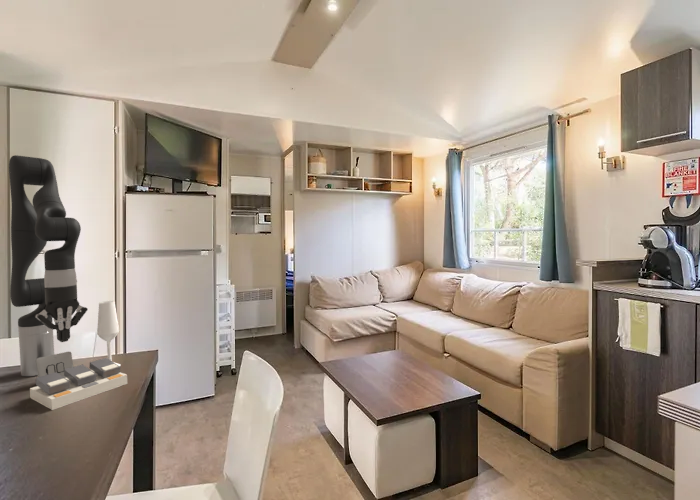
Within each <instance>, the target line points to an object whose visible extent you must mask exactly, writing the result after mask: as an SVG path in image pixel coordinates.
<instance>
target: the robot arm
mask: <svg viewBox="0 0 700 500" xmlns="http://www.w3.org/2000/svg"><path fill="white" fill-rule="evenodd" d="M8 175H9V176H8V177H9V187H10V200H11V201H10V202H11V211H10V212H11V214H10V215H11V218H10V243H11V244H10V245H11V273H10V275H11V276H10V289H9V293H10V302H11V305H13V306H14V307H17V308H21V307H22V308H23V307H30V306H37V308H36V309H34V310H32V311H31V312H28V313H26V314H24V315H22V316H20V317H19V318H18V319H17V328H18V343H19V344H18V345H19V361H20V376H22V377H34V376H38V372H37V365H36V359H37V358H41V357H45V356H50V355H55V343H54V342H55V341H54V331H55V330H56V340H57V341H59V342H60V343H65V342H68V341H69V339H70V338H71V328H72V327H73V326H74V327H75V326H77V325H78V323H80V321H81V320H82V318H83V317H84V315H85V314H86V313H87V311H88V308H87V307H85V306H82V305H81V304H80V302H79V300H78V285H77V284H78V279H77V273H76V259H75V254H76V248H77V244H78V241H79V238H80V235H81V229H82V228H81V224H80V222H79V221H78V220H77V219H76V218H74V217H66V216H67V211H66V209H65V206H64V205H63V202H62V200H61V197H60V194H59V188H58V186H59V185H58V181H57V176H56V170H55V168H54V165H53V163H52V162H51V161H50V160H48V159H46V158H42V157H41V158H40V157H35V156H34V157H33V156H26V155H18V154H17V155H11V157H10V159H9V162H8ZM25 185H27V186H28V185H29V186H38V187H40V188H39V189H38V190H37V191H36V192H35V193H34V195H33V197H32V202H31V201H30V199H29V198H28V196H27V194H26V190H25ZM48 242H64V243H63V245H62V246H60V247H58V248H53V249H49V250H46V251H45V252H44V253H43V258H44V276H43V277H41V278H29V279H28V278H27V279H26V276H27V272H28V271H29V268H30V266H31V265H32V263H33V262H34V261H35V259H36V258H37V257H38V256H39V255H40V254H41V252H43V250H44V249H45V247H46V246H47V243H48ZM75 312H76V313H75ZM72 316H73V317H72ZM53 322H54V323H53Z"/></svg>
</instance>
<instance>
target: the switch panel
mask: <svg viewBox="0 0 700 500" xmlns="http://www.w3.org/2000/svg"><path fill="white" fill-rule="evenodd" d="M90 370H91V369H90ZM91 371H93V370H91ZM93 372H94V371H93ZM94 373H96V372H94ZM96 374H97V373H96ZM65 379H67V380H68V381H70V380H69V379H68V378H67V377H66V378H65ZM127 384H129V383H128V375H127V374H126V373H124V372H121V371H120V373H117V374H114V375H111V376H108V377H105V378H103V377H101V376H100V375H98V374H97V375H96V380H95V381H92V382H89V383H86V384H83V385H80V386H77V385H75V384H74V383H73V382H72V381H70V388H68V389H65V390H62V391H59V392H56V393H53V394H50V395H49V394H47V393H46V392H45V391H44V390H42V389H41V388H40V387H38V386H37V385H36V386H33V387H30V388H29V394H30V395H29V396H30V397H29V398H30V399H31V400H33V401H35V402H37V403H38V404H41V405H42V406H44V407H46V408H48V409H49V410H51V411H54V410H57V409H60V408H63V407H65V406H68V405H71V404H74V403H76V402H79V401H82V400H86V399H88V398H91V397H94V396H96V395H99V394H102V393H104V392H105V393H106V392H108V391H111V390H114V389H117V388H119V387H122V386H125V385H127Z"/></svg>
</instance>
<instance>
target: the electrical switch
mask: <svg viewBox="0 0 700 500" xmlns="http://www.w3.org/2000/svg"><path fill="white" fill-rule="evenodd" d="M36 365H37V372H38V375H37V378H38V377H41V376H45V375H48V374H52V373H55V372H57V373H58V374H60V375H61V376H62V377H64V378H66V377H65V376H64V369H68V368H71V367H74V363H73V354H72V352H71V351H64V352H60V353H54V355H50V356H45V357H41V358H37V359H36Z"/></svg>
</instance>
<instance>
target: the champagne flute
mask: <svg viewBox="0 0 700 500" xmlns="http://www.w3.org/2000/svg"><path fill="white" fill-rule="evenodd" d="M97 314H98V315H97V317H98V318H97V328H96V330H97V332H96V335H97V336H98V337H99V338H100V339H101V340H103V341H104V342H106V352H107V358H108V359H109V360H111V361H112V362H114V363H115V364H117V365H118V366H120V367H121V363H117V362H115V361H113V360H112V342H111V341H113V340H114V339H115V338H116V337H117V335H118V334H119V332H120V326H119V320H118V314H117V309H116V301H114V300H106V301H100V302H99V303H98V313H97Z"/></svg>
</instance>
